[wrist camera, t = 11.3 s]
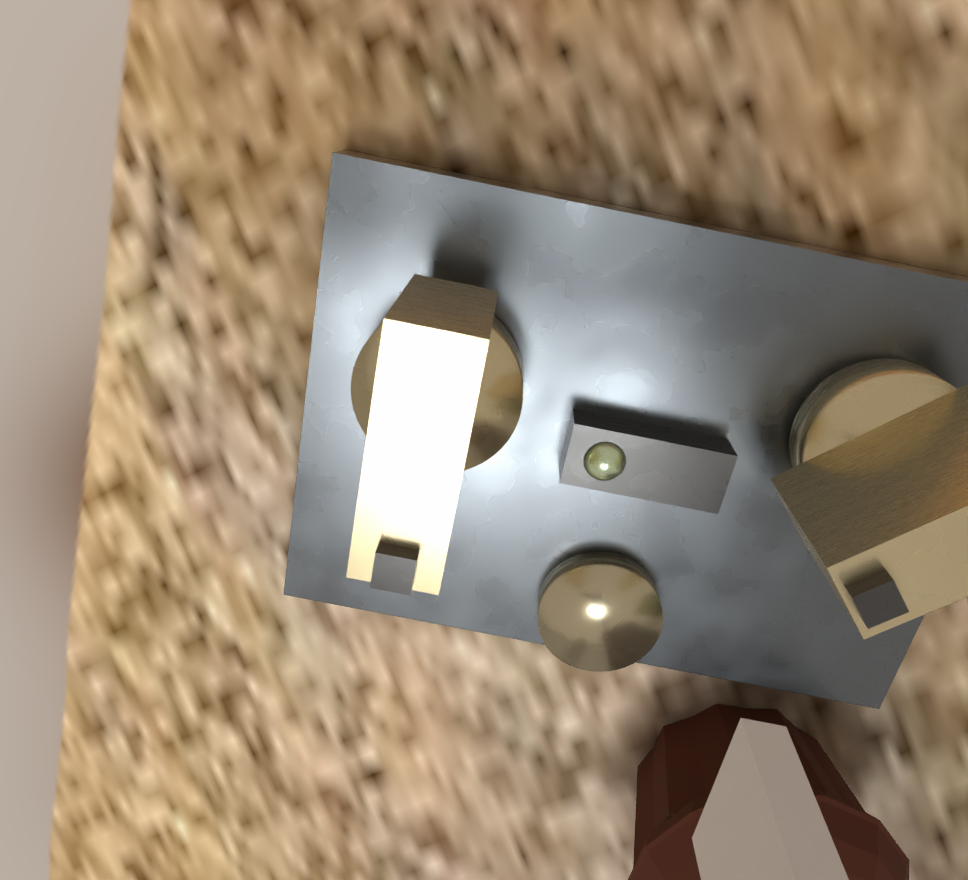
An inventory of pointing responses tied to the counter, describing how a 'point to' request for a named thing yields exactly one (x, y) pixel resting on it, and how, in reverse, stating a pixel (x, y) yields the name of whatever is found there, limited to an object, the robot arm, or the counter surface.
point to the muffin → (689, 780)
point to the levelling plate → (627, 362)
